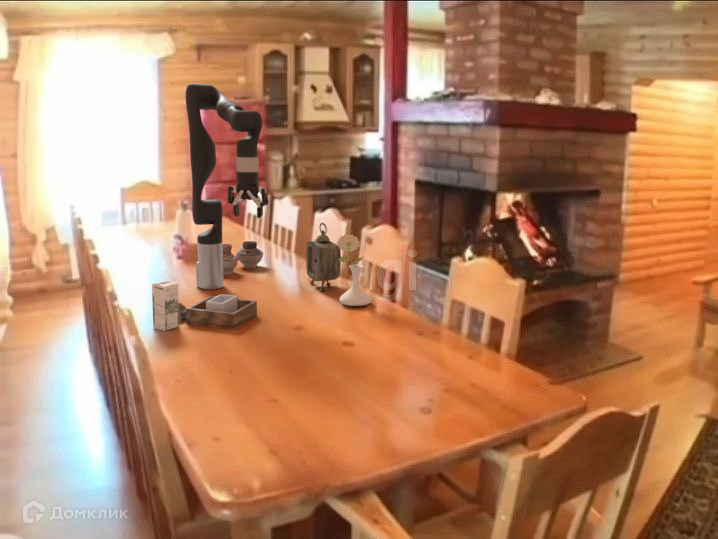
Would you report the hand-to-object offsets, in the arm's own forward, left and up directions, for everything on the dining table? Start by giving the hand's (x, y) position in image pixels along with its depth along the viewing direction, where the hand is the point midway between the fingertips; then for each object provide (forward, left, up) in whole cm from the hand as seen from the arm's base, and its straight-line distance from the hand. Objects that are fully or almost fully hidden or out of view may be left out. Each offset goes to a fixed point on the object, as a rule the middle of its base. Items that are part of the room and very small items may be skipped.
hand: (248, 216), depth 256 cm
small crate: (+2, -24, -29) cm, 38 cm away
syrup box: (-10, -38, -30) cm, 50 cm away
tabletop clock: (+18, +27, -30) cm, 44 cm away
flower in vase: (+36, +9, -30) cm, 48 cm away
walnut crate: (+2, -24, -30) cm, 39 cm away
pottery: (-25, +41, -30) cm, 57 cm away
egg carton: (-13, -28, -31) cm, 44 cm away
